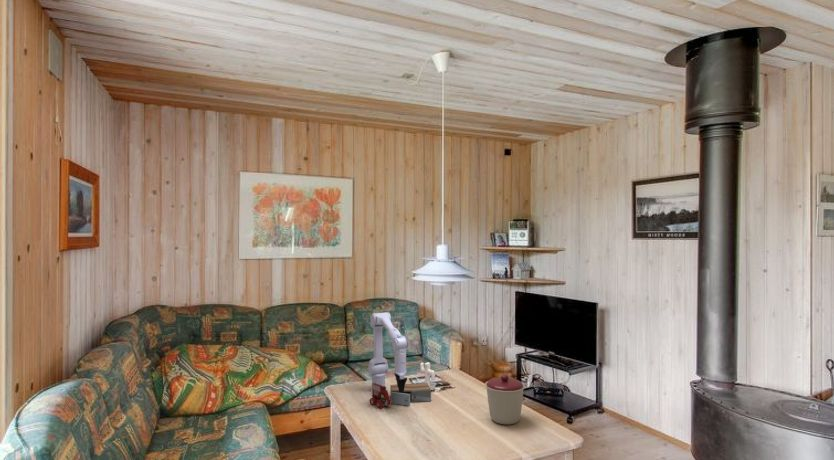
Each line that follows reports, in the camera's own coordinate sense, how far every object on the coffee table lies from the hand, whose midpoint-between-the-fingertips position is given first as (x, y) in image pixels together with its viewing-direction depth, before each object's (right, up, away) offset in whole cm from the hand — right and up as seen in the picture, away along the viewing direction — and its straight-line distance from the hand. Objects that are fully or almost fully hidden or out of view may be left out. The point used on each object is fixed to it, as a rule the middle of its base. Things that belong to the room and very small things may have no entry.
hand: (400, 389), depth 230 cm
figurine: (+14, -10, +26) cm, 31 cm away
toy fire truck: (-10, -10, +4) cm, 15 cm away
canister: (+49, -9, -16) cm, 52 cm away
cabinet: (+5, -9, +13) cm, 16 cm away
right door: (0, -9, +4) cm, 10 cm away
